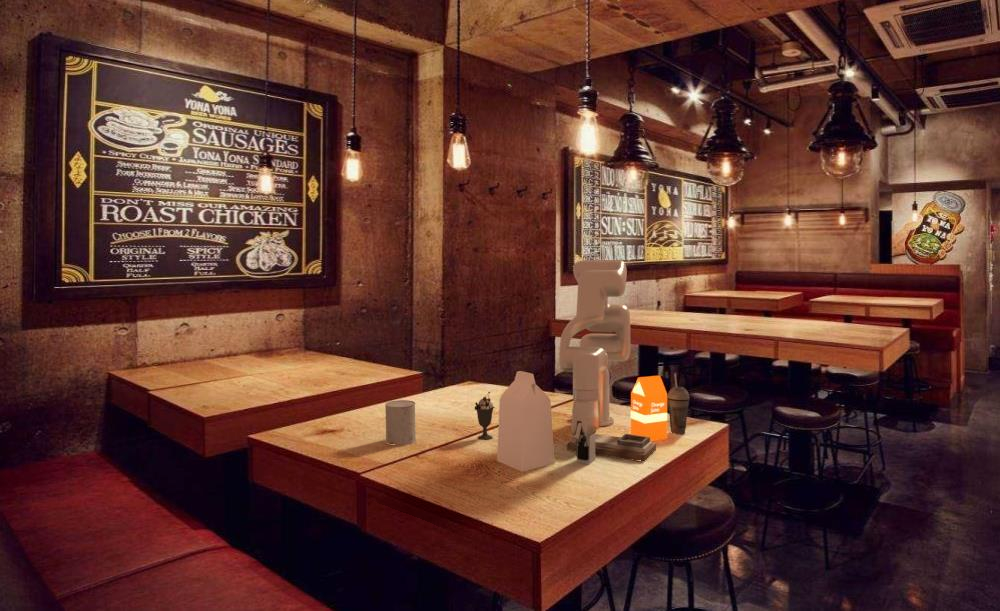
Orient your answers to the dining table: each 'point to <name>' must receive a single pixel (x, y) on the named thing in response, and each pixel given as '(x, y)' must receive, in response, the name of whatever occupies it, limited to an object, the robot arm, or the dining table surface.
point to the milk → (525, 425)
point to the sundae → (484, 416)
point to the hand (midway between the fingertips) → (586, 456)
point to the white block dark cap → (591, 449)
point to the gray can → (400, 422)
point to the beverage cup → (678, 408)
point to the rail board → (620, 446)
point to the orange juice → (649, 408)
